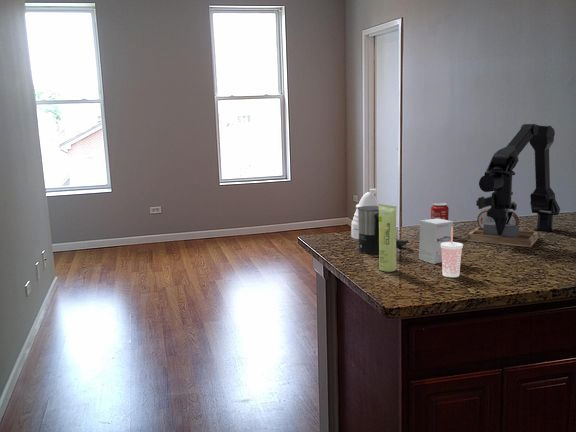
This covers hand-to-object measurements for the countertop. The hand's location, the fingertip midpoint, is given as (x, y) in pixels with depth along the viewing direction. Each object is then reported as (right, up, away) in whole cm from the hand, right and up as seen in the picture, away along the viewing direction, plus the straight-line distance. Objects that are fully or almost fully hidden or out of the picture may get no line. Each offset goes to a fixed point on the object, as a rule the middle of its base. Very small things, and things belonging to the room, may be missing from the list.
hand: (501, 233), depth 204 cm
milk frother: (-42, -6, -7) cm, 43 cm away
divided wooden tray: (+2, -2, +3) cm, 4 cm away
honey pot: (-44, -2, +14) cm, 47 cm away
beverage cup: (-28, -11, -38) cm, 49 cm away
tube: (-45, -10, -32) cm, 56 cm away
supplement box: (-29, -8, -22) cm, 37 cm away
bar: (0, -1, 0) cm, 1 cm away
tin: (+5, 0, +18) cm, 18 cm away
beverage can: (-19, -1, +12) cm, 22 cm away
